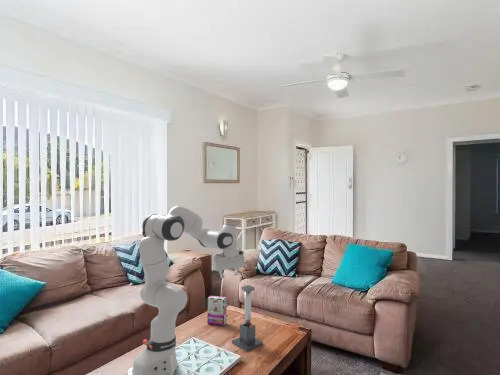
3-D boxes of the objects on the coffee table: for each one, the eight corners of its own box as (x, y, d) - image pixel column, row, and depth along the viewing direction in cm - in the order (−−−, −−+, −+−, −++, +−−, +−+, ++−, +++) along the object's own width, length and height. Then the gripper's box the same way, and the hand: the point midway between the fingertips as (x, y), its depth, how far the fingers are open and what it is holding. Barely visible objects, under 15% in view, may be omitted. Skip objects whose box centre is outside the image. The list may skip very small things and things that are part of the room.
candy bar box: (226, 323, 203) (227, 296, 203) (223, 326, 198) (224, 299, 198) (210, 320, 206) (210, 295, 206) (207, 323, 202) (207, 297, 202)
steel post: (246, 333, 173) (247, 289, 173) (241, 330, 177) (241, 286, 177) (254, 330, 176) (254, 287, 176) (248, 327, 180) (248, 285, 180)
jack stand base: (245, 351, 168) (246, 330, 168) (231, 342, 177) (232, 323, 177) (262, 344, 176) (263, 324, 176) (248, 336, 185) (248, 317, 185)
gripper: (217, 255, 178) (217, 280, 178) (246, 251, 191) (245, 274, 191) (211, 253, 183) (210, 278, 182) (239, 249, 196) (239, 272, 196)
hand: (228, 276), depth 187 cm, fingers open, 8 cm apart
